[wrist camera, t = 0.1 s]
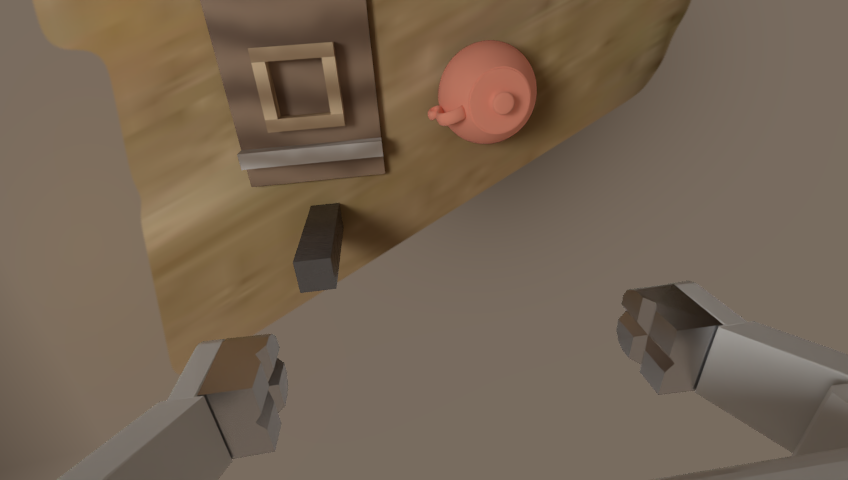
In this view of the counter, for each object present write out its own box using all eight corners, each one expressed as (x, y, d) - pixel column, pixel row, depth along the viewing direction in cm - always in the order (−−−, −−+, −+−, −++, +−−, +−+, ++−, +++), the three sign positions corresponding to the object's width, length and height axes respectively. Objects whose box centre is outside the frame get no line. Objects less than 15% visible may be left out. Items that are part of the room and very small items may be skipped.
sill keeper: (202, -3, 45) (192, -5, 43) (364, -13, 47) (364, -15, 44) (253, 184, 56) (247, 192, 53) (384, 171, 57) (385, 178, 54)
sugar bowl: (533, 120, 56) (565, 138, 47) (438, 154, 57) (451, 177, 48) (516, 25, 51) (548, 24, 42) (410, 63, 51) (419, 70, 42)
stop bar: (311, 205, 58) (292, 262, 44) (339, 203, 58) (330, 258, 44) (316, 231, 60) (300, 292, 46) (343, 227, 60) (336, 288, 46)
